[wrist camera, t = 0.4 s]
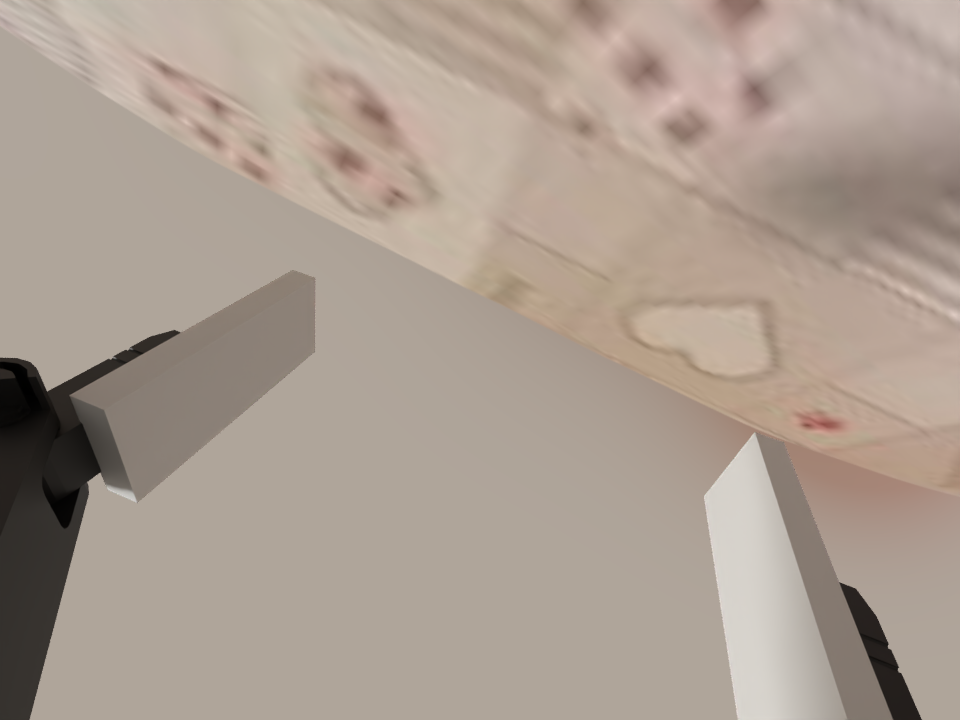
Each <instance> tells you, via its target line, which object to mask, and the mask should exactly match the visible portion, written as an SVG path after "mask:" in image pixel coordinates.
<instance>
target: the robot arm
mask: <svg viewBox="0 0 960 720" xmlns="http://www.w3.org/2000/svg"><path fill="white" fill-rule="evenodd" d="M314 352H315V278H314V277H311V276H308V275H305V274H303V273H300V272H297V271H294V270H292V271H290V272H288V273H287V274H285V275H283V276H281V277H279V278H278V279H276V280H274V281H272V282H270V283H269V284H267V285H265V286H263V287H262V288H260V289H258V290H256V291H254V292H253V293H251V294H249V295H247V296H246V297H244V298H242V299H240V300H239V301H237V302H235V303H233V304H231V305H230V306H228V307H226V308H224V309H223V310H221V311H219V312H217V313H215V314H213V315H212V316H210V317H208V318H206V319H205V320H203V321H201V322H199V323H197V324H196V325H194V326H192V327H190V328H189V329H187V330H185V331H183V332H181V333H180V332H178V331H176V330H173V331H169V332H166V333H162V334H158V335H155V336H151V337H149V338H147V339H145V340H143V341H141V342H139V343H138V344H136V345H134V346H132V347H130V349H129V350H128V351H127V350H124V351H122V352H121V353H119V354H117V355H115V356H113V358H112V359H111V360H110V359H107V360H106V361H104V362H102V363H100V364H98V365H96V366H94V367H92V368H91V369H89V370H87V371H85V372H83V373H81V374H79V375H77V376H76V377H74V378H72V379H70V380H68V381H66V382H64V383H62V384H61V385H59V386H57V387H55V388H53V389H51V390H49V391H48V392H47V391H46V388H45V386H44V384H43V382H42V379H41V377H40V375H39V373H38V370H37V368H36V367H34V365H32V363H31V362H28V361H25V360H21V359H18V358H0V720H29V719H30V715H31V712H32V708H33V704H34V700H35V696H36V693H37V689H38V685H39V681H40V677H41V674H42V670H43V666H44V662H45V658H46V655H47V650H48V647H49V643H50V639H51V636H52V632H53V628H54V624H55V620H56V616H57V613H58V609H59V605H60V601H61V598H62V594H63V590H64V586H65V582H66V579H67V575H68V571H69V567H70V563H71V560H72V556H73V552H74V548H75V544H76V541H77V537H78V533H79V529H80V525H81V521H82V518H83V514H84V510H85V506H86V502H87V499H88V495H89V490H88V484H87V481H89V480H90V479H92V478H93V477H94V476H96V475H97V474H98V473H100V472H101V475H102V477H103V480H104V482H105V485H106V487H107V489H108V490H109V491H112V492H114V493H116V494H118V495H121V496H123V497H125V498H127V499H130V500H132V501H134V502H137V503H138V502H139V501H140V500H141V499H142V498H144V497H145V496H146V495H147V494H148V493H149V492H151V491H152V490H153V489H154V488H155V487H156V486H158V485H159V484H160V483H161V482H162V481H163V480H165V479H166V478H167V477H168V476H169V475H171V474H172V473H173V472H174V471H175V470H176V469H177V468H179V467H180V466H181V465H182V464H183V463H184V462H186V461H187V460H188V459H189V458H190V457H192V456H193V455H194V454H195V453H196V452H198V451H199V450H200V449H201V448H202V447H203V446H205V445H206V444H207V443H208V442H209V441H210V440H212V439H213V438H214V437H215V436H216V435H218V434H219V433H220V432H221V431H222V430H223V429H224V428H226V427H227V426H228V425H229V424H230V423H232V422H233V421H234V420H235V419H236V418H237V417H239V416H240V415H241V414H242V413H243V412H245V411H246V410H247V409H248V408H249V407H250V406H252V405H253V404H254V403H255V402H256V401H258V399H260V398H261V397H262V396H263V395H265V394H266V393H267V392H268V391H269V390H270V389H272V388H273V387H274V386H275V385H276V384H278V383H279V382H280V381H281V380H282V379H283V378H285V377H286V376H287V375H288V374H289V373H290V372H291V371H293V370H294V369H295V368H296V367H297V366H299V365H300V364H301V363H302V362H303V361H305V360H306V359H307V358H308V357H309V356H310V355H312V354H313V353H314ZM704 500H705V507H706V513H707V519H708V526H709V533H710V540H711V546H712V553H713V560H714V566H715V573H716V579H717V585H718V592H719V599H720V605H721V611H722V618H723V624H724V631H725V638H726V645H727V651H728V658H729V664H730V671H731V678H732V684H733V691H734V697H735V704H736V710H737V717H738V720H922V719H921V717H920V715H919V712H918V710H917V708H916V706H915V703H914V701H913V699H912V696H911V694H910V692H909V690H908V687H907V685H906V683H905V680H904V678H903V676H902V674H901V673H899V672H898V668H899V667H898V664H897V662H896V660H895V658H894V655H893V653H892V651H891V650H890V649H888V642H887V639H886V637H885V635H884V632H883V630H882V628H881V626H880V623H879V621H878V619H877V617H876V615H875V614H874V612H873V611H872V610H871V608H870V607H869V606H868V604H867V603H866V602H865V600H864V599H863V598H862V596H861V595H860V594H859V592H858V591H857V590H856V589H855V588H853V587H850V586H847V585H845V584H842V583H840V582H839V581H838V578H837V576H836V573H835V571H834V568H833V566H832V563H831V561H830V558H829V556H828V553H827V550H826V548H825V545H824V543H823V541H822V538H821V535H820V533H819V530H818V528H817V525H816V522H815V520H814V518H813V515H812V512H811V510H810V507H809V505H808V502H807V500H806V497H805V495H804V492H803V489H802V487H801V484H800V482H799V479H798V477H797V474H796V472H795V469H794V467H793V464H792V461H791V459H790V456H789V454H788V451H787V449H786V446H785V444H784V442H782V441H779V440H776V439H773V438H770V437H767V436H765V435H761V434H759V433H756V432H755V433H754V434H753V435H752V437H751V438H750V439H749V440H748V441H747V443H746V444H745V445H744V446H743V448H742V449H741V450H740V451H739V453H738V454H737V455H736V457H735V458H734V459H733V460H732V462H731V463H730V464H729V466H728V467H727V468H726V469H725V470H724V472H723V473H722V474H721V476H720V477H719V478H718V479H717V481H716V482H715V483H714V484H713V486H712V487H711V488H710V490H709V491H708V492H707V493H706V495H705V496H704Z"/></svg>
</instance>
